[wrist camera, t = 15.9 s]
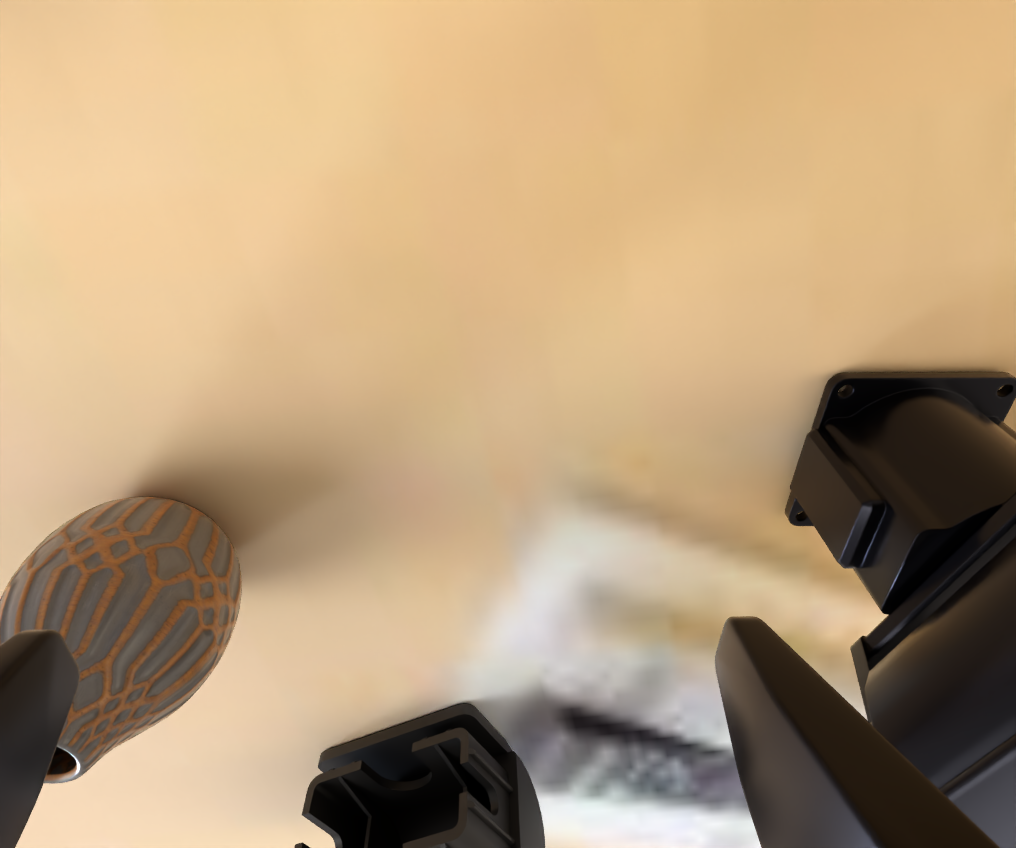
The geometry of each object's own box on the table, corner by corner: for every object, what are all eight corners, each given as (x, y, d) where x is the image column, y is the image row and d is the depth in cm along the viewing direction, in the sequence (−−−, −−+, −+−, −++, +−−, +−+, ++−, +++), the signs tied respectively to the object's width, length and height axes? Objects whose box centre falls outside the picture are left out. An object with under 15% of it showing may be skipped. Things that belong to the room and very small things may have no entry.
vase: (49, 462, 23) (-162, 681, 15) (248, 469, 23) (137, 684, 16) (102, 597, 26) (-45, 825, 19) (273, 601, 27) (194, 825, 19)
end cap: (383, 814, 37) (365, 962, 31) (308, 754, 33) (272, 909, 27) (541, 765, 34) (552, 915, 29) (478, 696, 31) (477, 850, 25)
